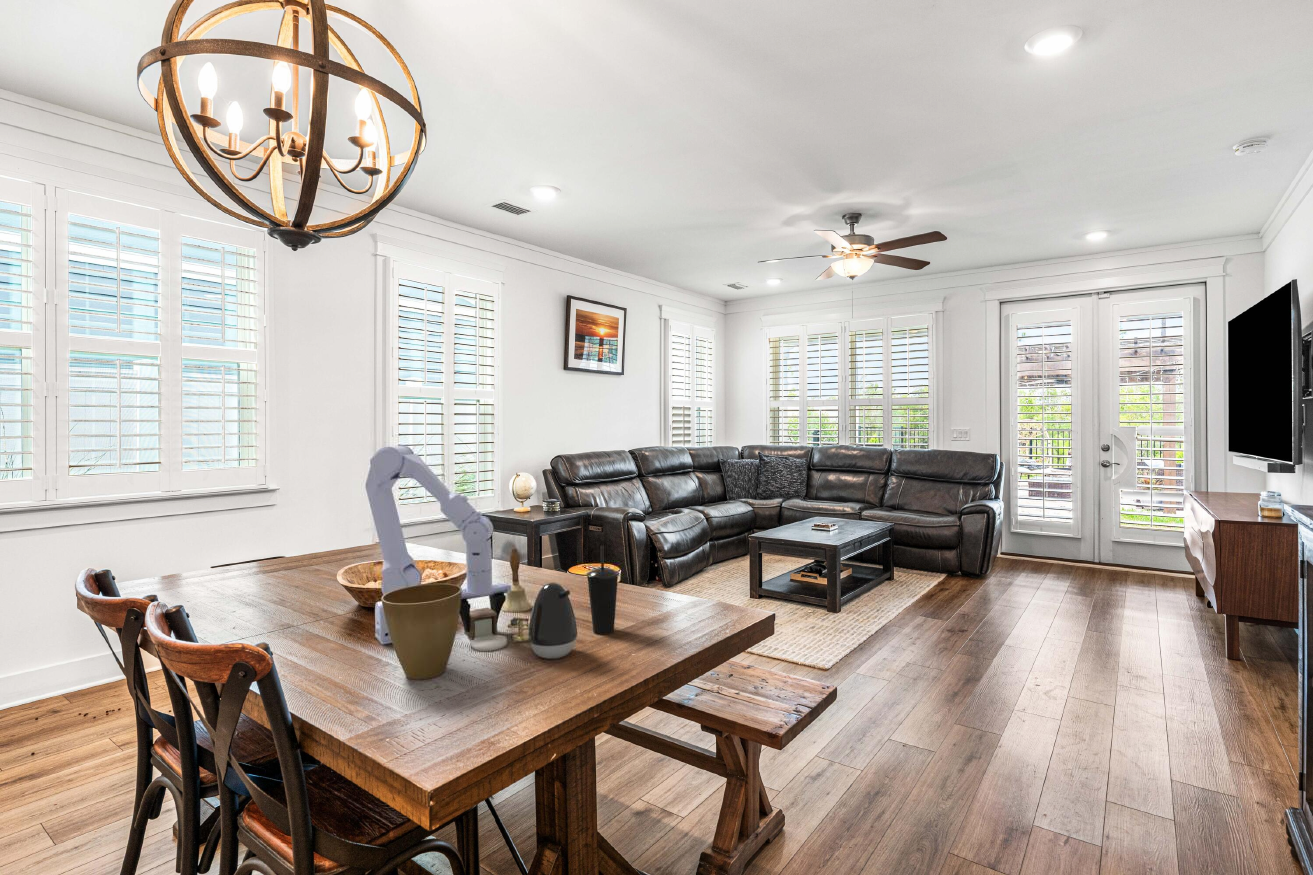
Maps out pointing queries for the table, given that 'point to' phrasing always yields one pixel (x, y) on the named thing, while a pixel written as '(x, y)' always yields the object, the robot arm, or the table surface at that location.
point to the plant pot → (423, 626)
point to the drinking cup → (603, 597)
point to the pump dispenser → (552, 623)
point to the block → (483, 627)
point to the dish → (489, 643)
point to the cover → (481, 614)
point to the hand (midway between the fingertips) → (480, 628)
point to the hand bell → (516, 589)
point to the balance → (519, 629)
